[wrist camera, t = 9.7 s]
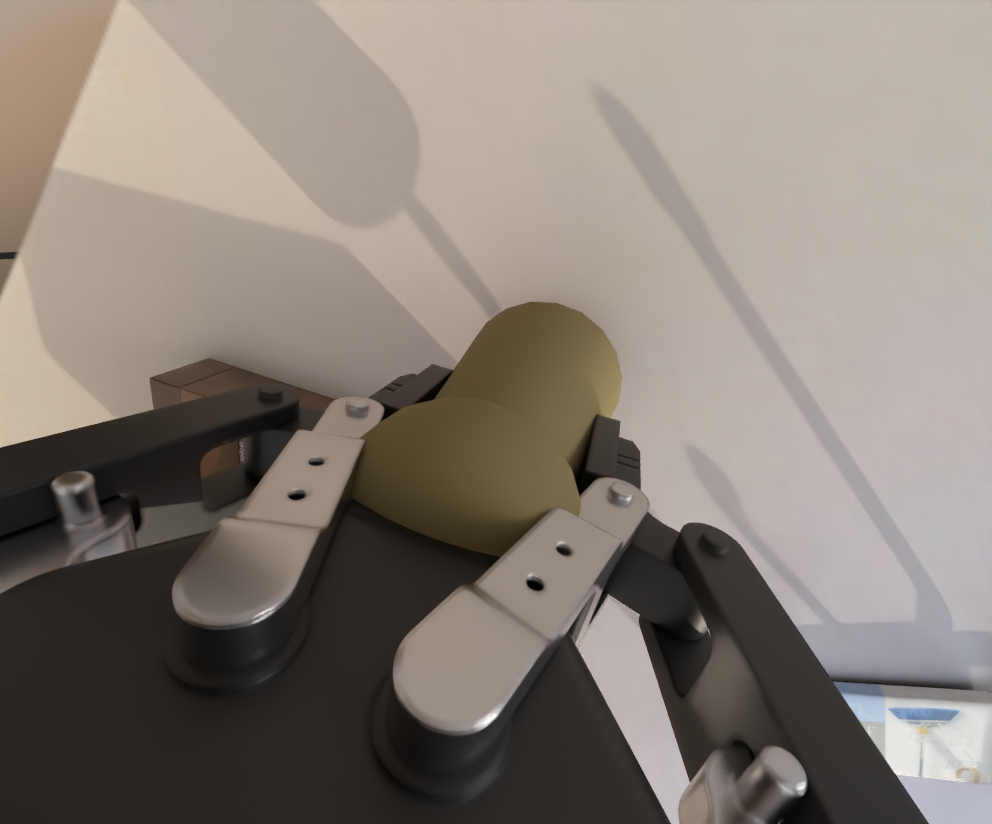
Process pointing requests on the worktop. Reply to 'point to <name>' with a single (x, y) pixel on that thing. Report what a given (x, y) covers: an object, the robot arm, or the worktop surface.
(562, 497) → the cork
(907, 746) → the wall mount rack
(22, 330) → the worktop surface
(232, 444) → the stand
